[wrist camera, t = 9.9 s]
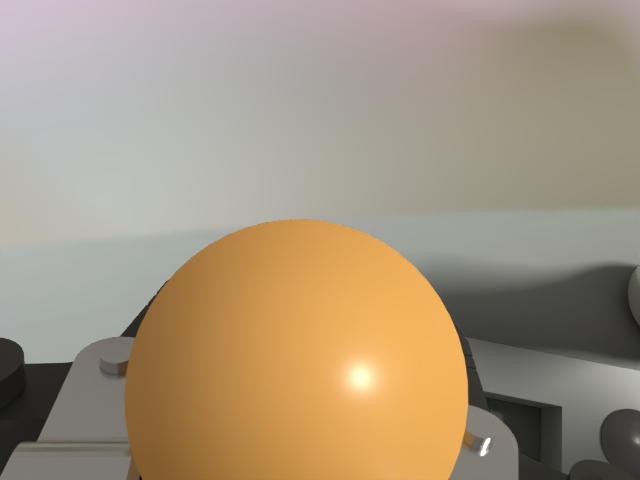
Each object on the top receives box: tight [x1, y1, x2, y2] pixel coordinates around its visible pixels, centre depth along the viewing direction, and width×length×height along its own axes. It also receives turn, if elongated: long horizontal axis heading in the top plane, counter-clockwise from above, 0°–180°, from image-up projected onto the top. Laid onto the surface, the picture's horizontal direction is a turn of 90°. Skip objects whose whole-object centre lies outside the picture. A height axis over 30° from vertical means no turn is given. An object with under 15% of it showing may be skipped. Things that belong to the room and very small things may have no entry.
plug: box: [124, 219, 468, 480], centre depth 11 cm, size 5×5×11 cm
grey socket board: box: [465, 337, 640, 480], centre depth 27 cm, size 16×10×3 cm, turn 79°
